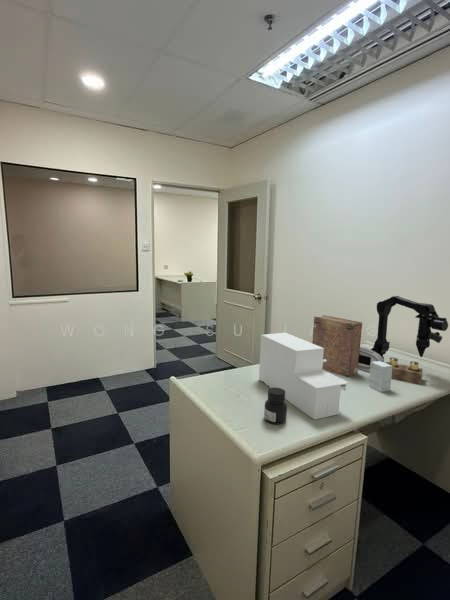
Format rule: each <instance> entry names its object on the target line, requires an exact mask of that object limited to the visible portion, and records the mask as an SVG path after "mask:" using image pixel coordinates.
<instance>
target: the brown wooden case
mask: <svg viewBox="0 0 450 600" xmlns="http://www.w3.org/2000/svg"><path fill="white" fill-rule="evenodd" d="M312 328H313V329H312V331H313V333H312V342H311V343H312V344H315V345H317V346H320V347H322V348H324V353H323V360H324V359H326V360H327V362H323V367H322V370H325V371H330V372H332V373H334V374H338V375H341V376H344V377H347V378H350V377H353V376H355V375H358V370H359V369H358V362H359V352H360V347H361V341H362V340H361V339H362V331H363V330H362V329H363V322H361V321H356V320H350V319H346V318H340V317H335V316H331V315H322V316H314V317H313V327H312Z"/></svg>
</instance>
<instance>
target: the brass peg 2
mask: <svg viewBox="0 0 450 600" xmlns="http://www.w3.org/2000/svg"><path fill="white" fill-rule="evenodd" d="M419 365H420V363H419V362H418V361H415V360H414V361H410V363H409V366H410V369H409V370H411V371H417V372H418V368H419Z"/></svg>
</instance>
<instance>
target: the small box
mask: <svg viewBox="0 0 450 600" xmlns="http://www.w3.org/2000/svg"><path fill="white" fill-rule="evenodd" d="M391 377H392V366H391V365H389V364H386V362H385V361H384V362H381V361H375V362H371V367H370V372H369V378H368V387H370V388H371V389H374V390H375V391H378V392H380V393H385V392H389V391H391V385H392V379H391Z"/></svg>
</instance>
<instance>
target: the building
mask: <svg viewBox="0 0 450 600" xmlns="http://www.w3.org/2000/svg"><path fill="white" fill-rule="evenodd" d="M259 348H260V350H259V351H260V352H259V353H260V354H259V369H258V380H259V379H260V380H261V381H263V382H264V383H265V384H266V385H265V384H264V383H263V382H262V383H263V384H264V385H265V386H267V385H268V386H269V387H268V386H267V387H268V388H269V389H270V388H281V389H283V390H284V391H285V400H286V401H288V402H289V403H290V404H292V405H293V406H294V407H296V408H297V409H298V410H300V411H301V412H303V413H304V414H305V415H307V416H308V417H310V418H312V419H313V420H319V419H325V418H328V417H333V416H337V415H339V413H340V412H339V411H340V410H339V409H340V400H341V390H342V391H344V392H346V390H347V385H349V384H350V382H349V381H347V380H344V379H343V378H340V377H339V376H336V375H334V374H332V373H330V372H328V371H327V370H324V369H323V368H322V367H323V362H327V360H326V359H324V360H323V353H324V348H322V347H320V346H317V345H315V344H312V342H310V341H307V340H306V339H302V338H300V337H297V336H295V335H292V334H290V333H287V332H277V333H267V334H261V335H260V347H259ZM260 380H259V381H260ZM261 381H260V382H261Z"/></svg>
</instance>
